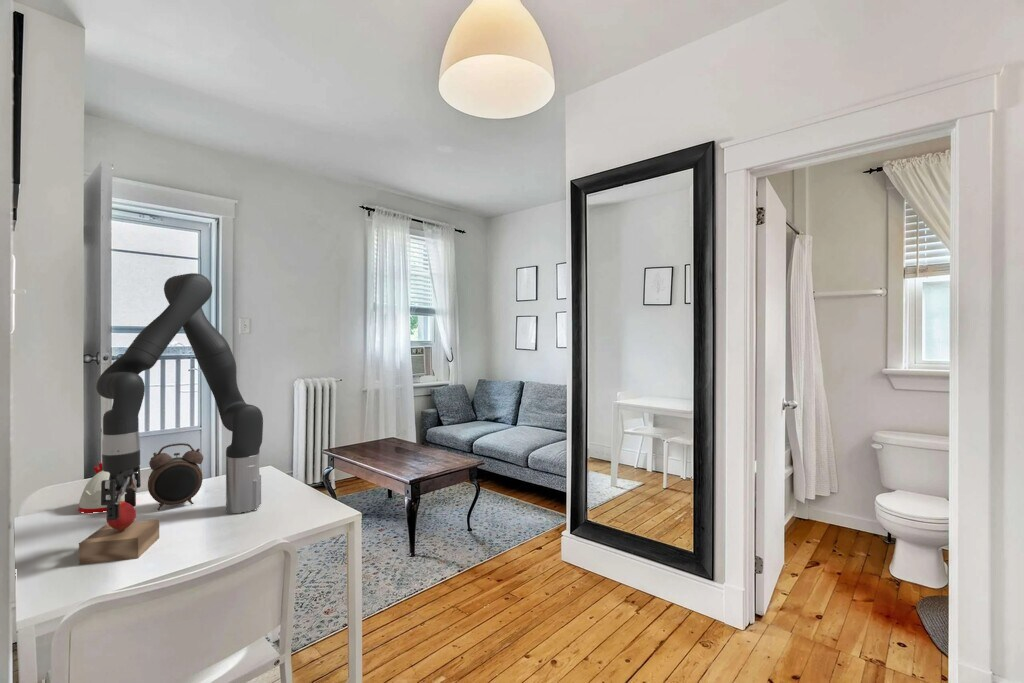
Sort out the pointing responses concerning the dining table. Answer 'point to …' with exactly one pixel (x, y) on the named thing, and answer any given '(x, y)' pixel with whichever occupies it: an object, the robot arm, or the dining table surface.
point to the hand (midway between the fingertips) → (122, 513)
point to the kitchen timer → (94, 493)
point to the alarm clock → (175, 476)
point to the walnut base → (119, 542)
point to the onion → (123, 516)
